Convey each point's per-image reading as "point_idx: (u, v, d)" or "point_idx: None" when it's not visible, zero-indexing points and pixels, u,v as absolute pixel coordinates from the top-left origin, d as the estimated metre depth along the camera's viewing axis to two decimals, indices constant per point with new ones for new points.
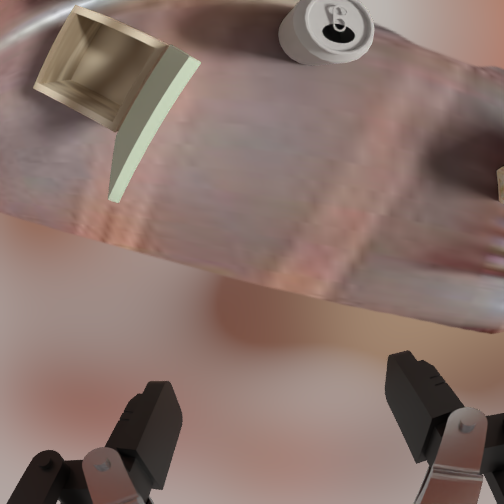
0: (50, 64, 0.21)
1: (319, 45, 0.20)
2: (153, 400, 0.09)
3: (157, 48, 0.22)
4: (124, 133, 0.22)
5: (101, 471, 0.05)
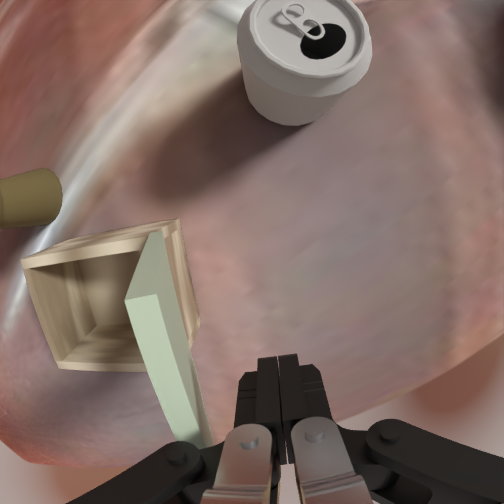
0: (53, 336, 0.21)
1: (321, 76, 0.12)
2: (273, 374, 0.09)
3: (140, 248, 0.18)
4: None
5: (255, 449, 0.06)
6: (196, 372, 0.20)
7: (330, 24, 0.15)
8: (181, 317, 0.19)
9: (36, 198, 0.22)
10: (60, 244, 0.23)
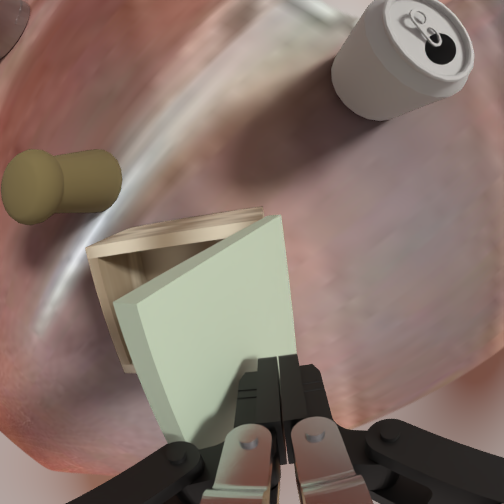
0: (121, 336, 0.20)
1: (446, 80, 0.12)
2: (273, 374, 0.09)
3: None
4: None
5: (255, 449, 0.06)
6: None
7: None
8: (290, 310, 0.18)
9: (97, 180, 0.22)
10: (126, 232, 0.23)
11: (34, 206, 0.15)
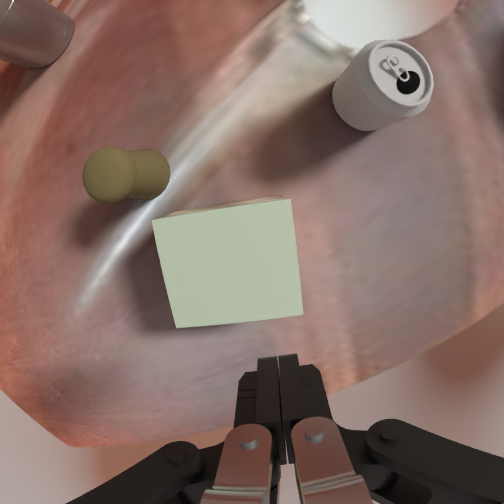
0: None
1: (409, 105, 0.20)
2: (273, 374, 0.09)
3: None
4: None
5: (255, 449, 0.06)
6: (297, 311, 0.27)
7: None
8: (292, 265, 0.26)
9: (155, 172, 0.30)
10: (177, 213, 0.31)
11: (117, 189, 0.23)
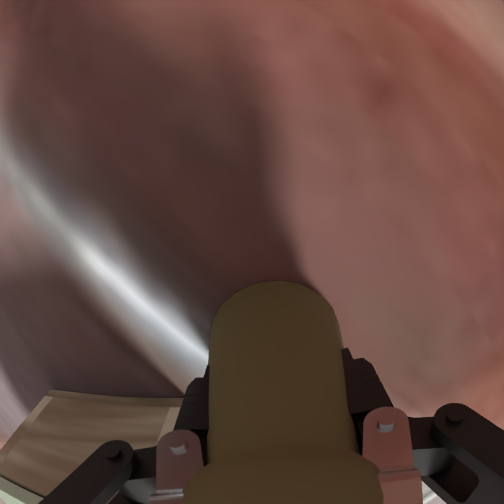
0: (33, 490, 0.08)
1: None
2: None
3: None
4: None
5: (181, 454, 0.06)
6: None
7: None
8: None
9: None
10: None
11: None
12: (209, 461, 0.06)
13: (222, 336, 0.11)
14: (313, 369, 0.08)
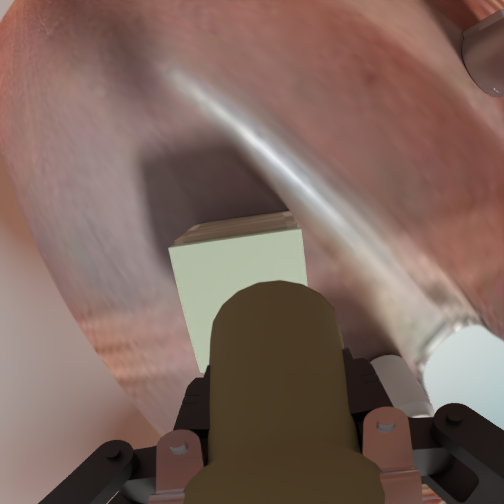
0: None
1: None
2: None
3: None
4: None
5: (181, 454, 0.06)
6: (202, 368, 0.26)
7: None
8: None
9: None
10: None
11: None
12: (210, 461, 0.06)
13: (223, 336, 0.11)
14: (314, 369, 0.08)
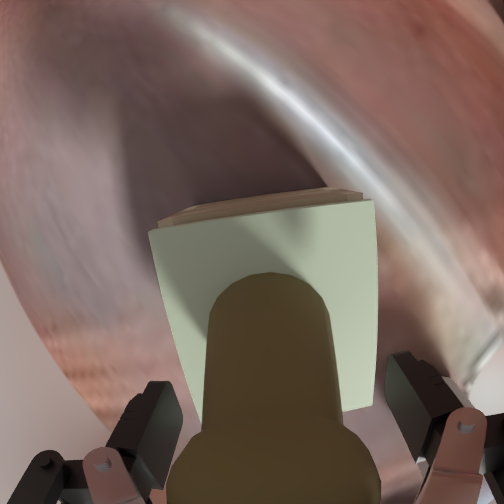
0: None
1: None
2: (153, 400, 0.09)
3: None
4: None
5: (101, 471, 0.05)
6: None
7: None
8: None
9: None
10: None
11: None
12: None
13: (218, 323, 0.12)
14: (298, 348, 0.09)
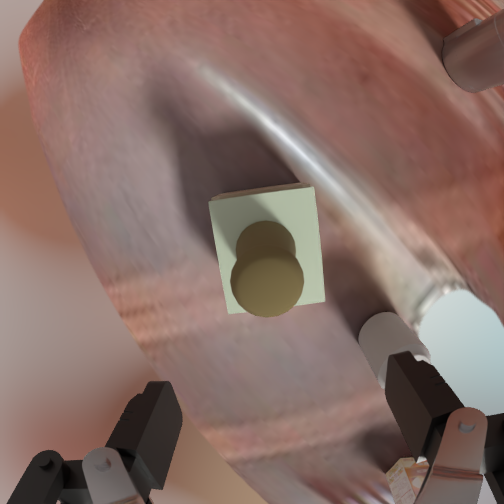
0: None
1: None
2: (153, 400, 0.09)
3: None
4: None
5: (101, 471, 0.05)
6: (230, 309, 0.32)
7: None
8: None
9: None
10: None
11: (248, 308, 0.21)
12: None
13: (243, 238, 0.28)
14: (275, 238, 0.25)
